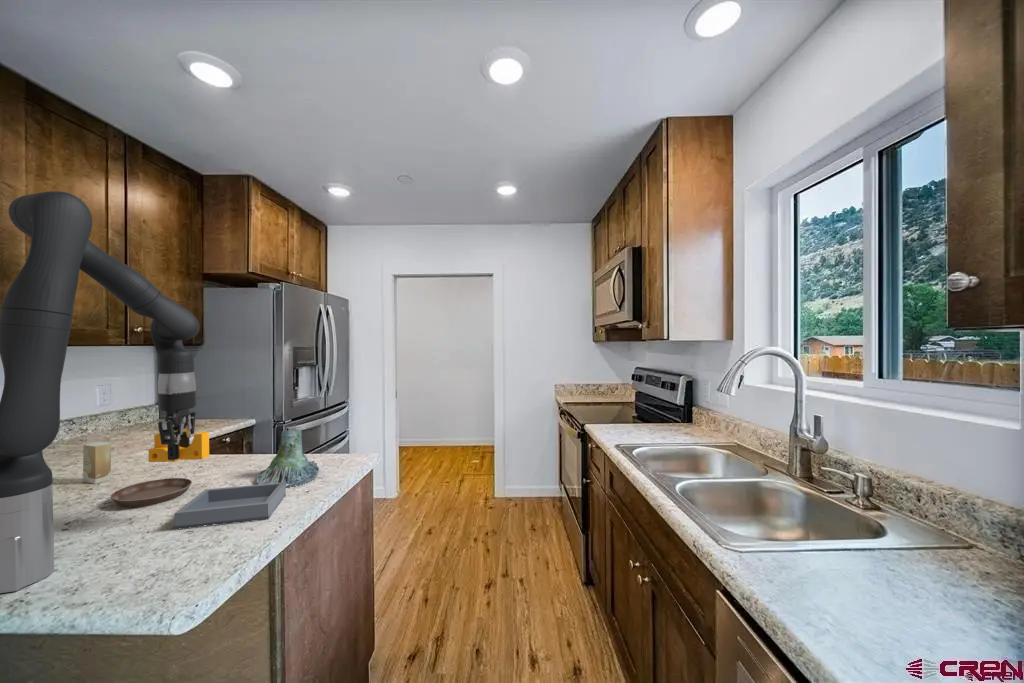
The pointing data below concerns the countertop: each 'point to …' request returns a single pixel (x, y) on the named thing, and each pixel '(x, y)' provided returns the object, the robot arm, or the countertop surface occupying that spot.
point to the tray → (231, 505)
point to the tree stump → (289, 463)
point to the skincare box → (96, 462)
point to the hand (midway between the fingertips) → (179, 455)
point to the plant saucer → (151, 492)
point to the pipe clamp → (181, 449)
